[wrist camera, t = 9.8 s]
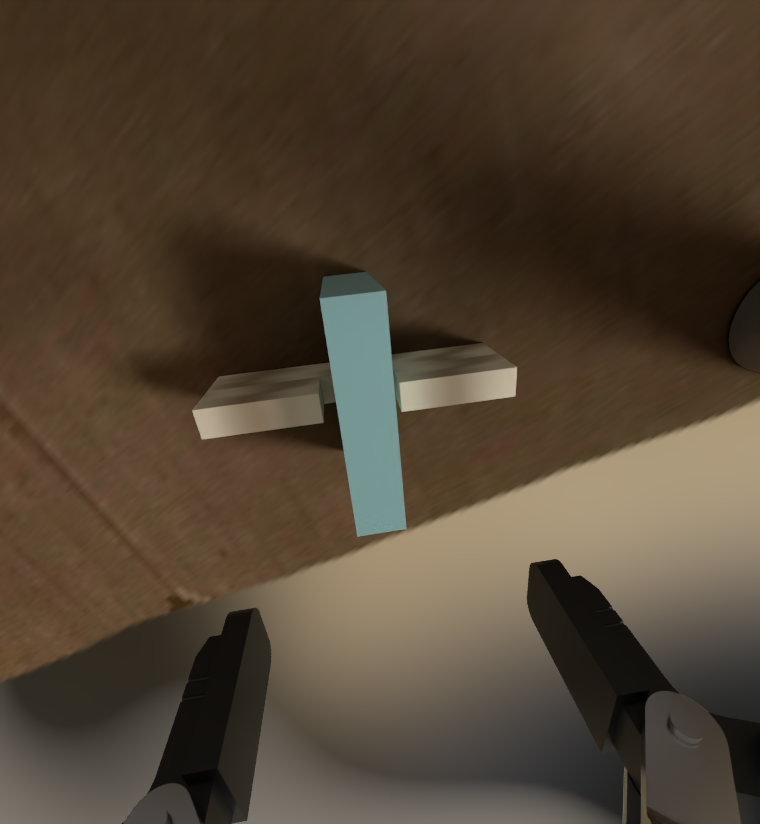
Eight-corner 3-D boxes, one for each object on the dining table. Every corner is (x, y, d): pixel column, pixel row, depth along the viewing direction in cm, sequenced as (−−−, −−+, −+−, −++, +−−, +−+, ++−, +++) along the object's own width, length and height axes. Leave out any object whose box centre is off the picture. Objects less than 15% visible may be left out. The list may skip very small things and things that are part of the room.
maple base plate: (482, 342, 29) (516, 367, 24) (482, 367, 30) (515, 396, 25) (218, 376, 28) (191, 410, 23) (225, 401, 29) (202, 439, 23)
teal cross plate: (323, 276, 26) (319, 298, 17) (366, 271, 26) (386, 290, 17) (349, 451, 32) (357, 536, 23) (384, 446, 32) (406, 528, 23)
